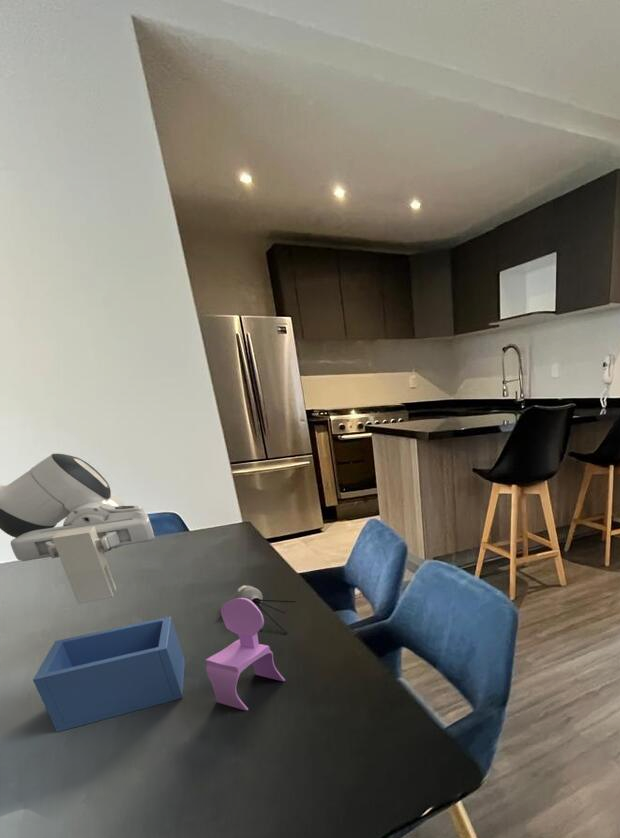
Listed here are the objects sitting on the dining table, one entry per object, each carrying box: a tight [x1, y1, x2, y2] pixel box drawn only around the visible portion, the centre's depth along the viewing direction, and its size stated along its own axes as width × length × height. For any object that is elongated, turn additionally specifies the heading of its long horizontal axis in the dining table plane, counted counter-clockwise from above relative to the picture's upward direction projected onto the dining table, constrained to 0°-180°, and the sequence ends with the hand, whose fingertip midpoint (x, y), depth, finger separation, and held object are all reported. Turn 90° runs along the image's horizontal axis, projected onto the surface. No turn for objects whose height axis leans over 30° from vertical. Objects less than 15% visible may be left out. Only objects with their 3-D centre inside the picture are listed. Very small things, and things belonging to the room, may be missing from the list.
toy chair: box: [205, 598, 286, 712], centre depth 74 cm, size 8×9×15 cm
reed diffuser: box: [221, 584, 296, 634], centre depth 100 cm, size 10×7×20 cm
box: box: [32, 615, 186, 733], centre depth 77 cm, size 16×12×9 cm
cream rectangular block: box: [52, 526, 117, 605], centre depth 82 cm, size 5×4×12 cm
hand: (78, 549), depth 80 cm, fingers closed on cream rectangular block, 5 cm apart
